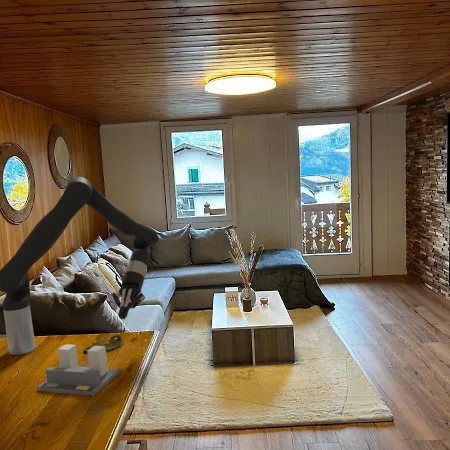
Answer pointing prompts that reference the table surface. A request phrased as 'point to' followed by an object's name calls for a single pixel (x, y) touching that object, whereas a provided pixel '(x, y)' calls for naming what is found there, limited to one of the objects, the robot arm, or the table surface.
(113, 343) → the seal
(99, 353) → the tall white pillar block
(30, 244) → the robot arm
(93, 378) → the plate
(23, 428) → the table surface
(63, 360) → the white rectangular block
